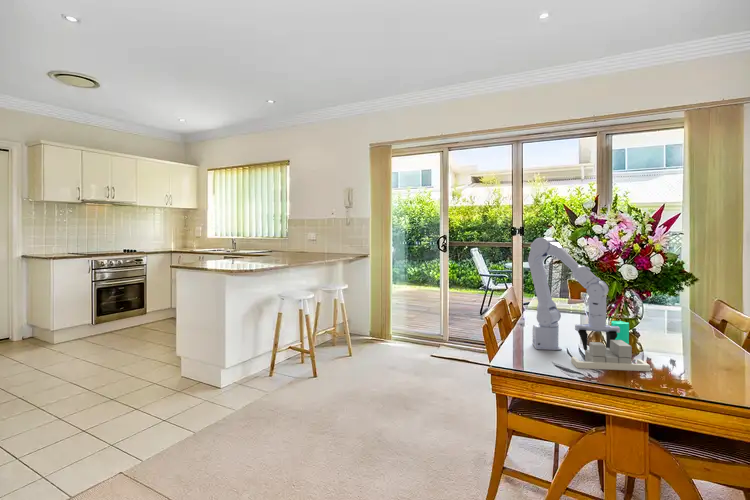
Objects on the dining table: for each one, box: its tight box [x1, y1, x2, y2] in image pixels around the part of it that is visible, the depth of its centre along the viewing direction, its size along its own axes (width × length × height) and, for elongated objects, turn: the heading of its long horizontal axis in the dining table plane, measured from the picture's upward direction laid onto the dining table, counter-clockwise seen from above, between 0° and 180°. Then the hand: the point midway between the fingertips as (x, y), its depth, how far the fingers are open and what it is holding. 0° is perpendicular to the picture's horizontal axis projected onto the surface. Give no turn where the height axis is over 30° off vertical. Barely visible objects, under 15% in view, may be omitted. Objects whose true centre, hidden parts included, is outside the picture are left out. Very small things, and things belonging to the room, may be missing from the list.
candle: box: [610, 320, 630, 345], centre depth 156 cm, size 6×6×12 cm
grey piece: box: [570, 356, 651, 372], centre depth 136 cm, size 22×6×2 cm, turn 80°
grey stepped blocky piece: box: [584, 340, 633, 363], centre depth 140 cm, size 12×12×8 cm
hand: (596, 350), depth 147 cm, fingers open, 7 cm apart
